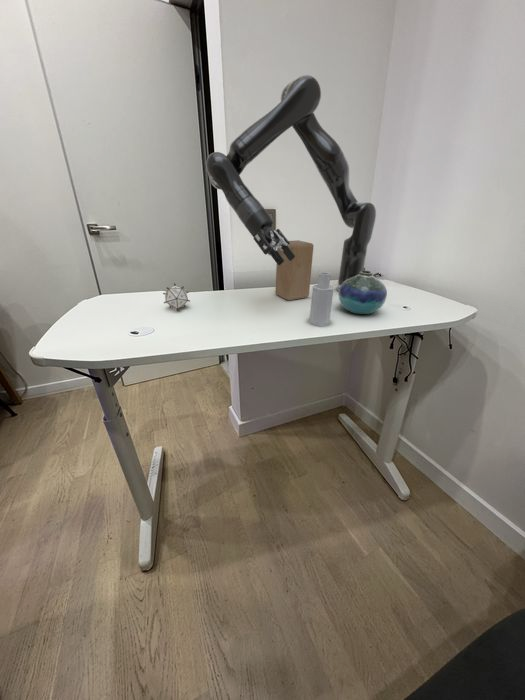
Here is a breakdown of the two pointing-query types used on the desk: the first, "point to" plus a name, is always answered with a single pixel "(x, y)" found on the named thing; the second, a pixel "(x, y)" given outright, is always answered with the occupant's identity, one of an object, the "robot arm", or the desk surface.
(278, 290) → the wooden block
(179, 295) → the grey spiked polyhedron
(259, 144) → the robot arm
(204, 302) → the desk surface
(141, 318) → the desk surface
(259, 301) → the desk surface
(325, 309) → the flask
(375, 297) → the vase
